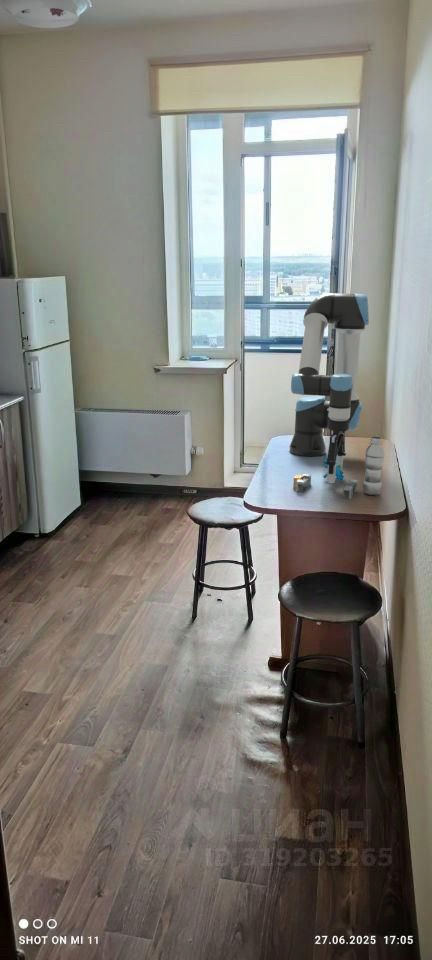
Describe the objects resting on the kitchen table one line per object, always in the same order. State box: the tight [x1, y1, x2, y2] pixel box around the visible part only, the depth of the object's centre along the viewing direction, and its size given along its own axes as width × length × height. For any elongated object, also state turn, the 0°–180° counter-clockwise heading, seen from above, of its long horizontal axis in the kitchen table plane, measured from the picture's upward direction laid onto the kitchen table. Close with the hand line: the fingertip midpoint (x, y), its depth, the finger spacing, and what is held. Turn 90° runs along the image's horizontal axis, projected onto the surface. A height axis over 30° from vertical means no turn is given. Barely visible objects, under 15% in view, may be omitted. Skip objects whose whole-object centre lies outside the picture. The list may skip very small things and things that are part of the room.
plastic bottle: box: [362, 436, 386, 496], centre depth 232 cm, size 6×7×20 cm
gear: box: [322, 457, 345, 482], centre depth 247 cm, size 11×6×10 cm
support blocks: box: [292, 473, 358, 500], centre depth 237 cm, size 10×21×4 cm, turn 67°
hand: (334, 477), depth 247 cm, fingers closed on gear, 11 cm apart
